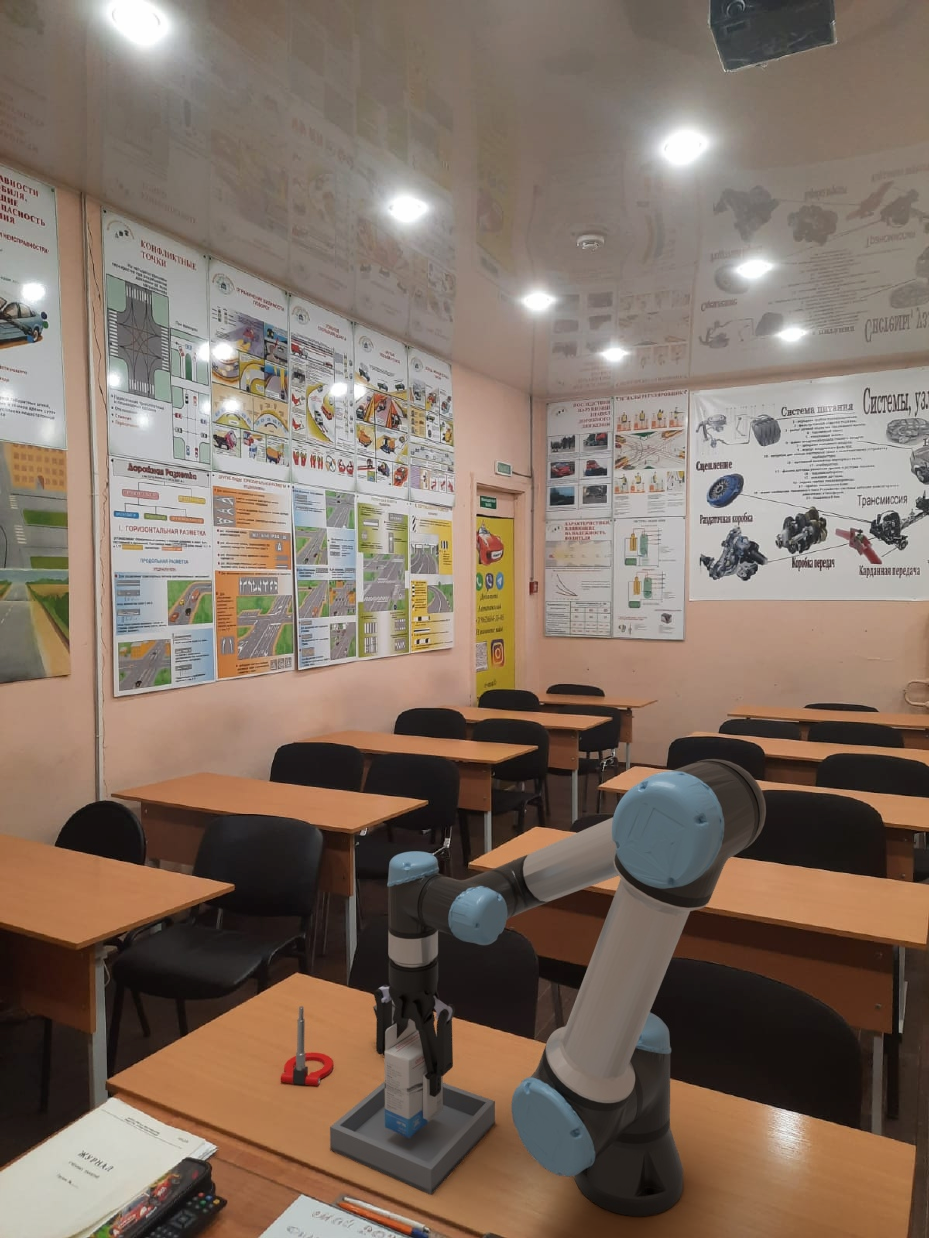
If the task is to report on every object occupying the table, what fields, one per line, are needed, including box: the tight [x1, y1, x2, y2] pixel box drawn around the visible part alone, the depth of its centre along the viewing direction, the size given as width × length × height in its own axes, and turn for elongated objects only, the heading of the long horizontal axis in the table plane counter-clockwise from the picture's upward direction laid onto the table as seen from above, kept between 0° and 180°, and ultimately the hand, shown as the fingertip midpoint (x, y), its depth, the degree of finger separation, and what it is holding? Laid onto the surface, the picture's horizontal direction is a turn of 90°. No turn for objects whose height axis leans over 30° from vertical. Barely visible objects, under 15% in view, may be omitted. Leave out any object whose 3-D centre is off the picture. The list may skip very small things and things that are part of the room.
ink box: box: [384, 1019, 444, 1138], centre depth 125 cm, size 8×5×15 cm, turn 144°
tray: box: [329, 1080, 496, 1196], centre depth 125 cm, size 18×18×4 cm
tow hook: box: [280, 1005, 334, 1086], centre depth 143 cm, size 8×13×9 cm
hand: (414, 1107), depth 125 cm, fingers closed on ink box, 5 cm apart
